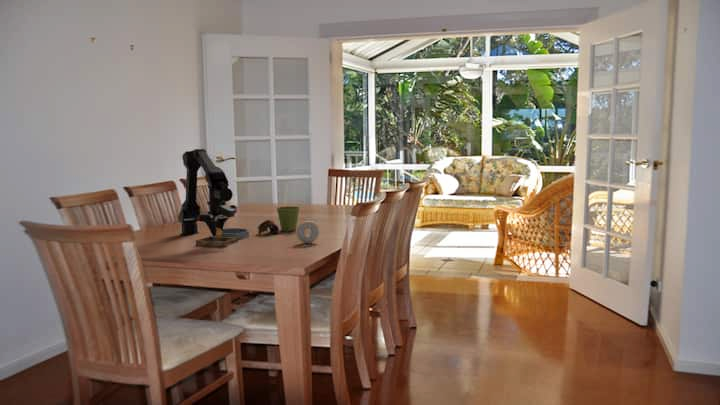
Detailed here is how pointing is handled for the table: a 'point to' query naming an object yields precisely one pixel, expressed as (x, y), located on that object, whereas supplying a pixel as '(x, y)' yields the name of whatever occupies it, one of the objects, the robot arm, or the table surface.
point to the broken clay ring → (266, 225)
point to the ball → (218, 232)
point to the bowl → (235, 233)
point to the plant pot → (288, 217)
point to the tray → (216, 241)
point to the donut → (303, 227)
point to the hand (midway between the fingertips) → (217, 235)
